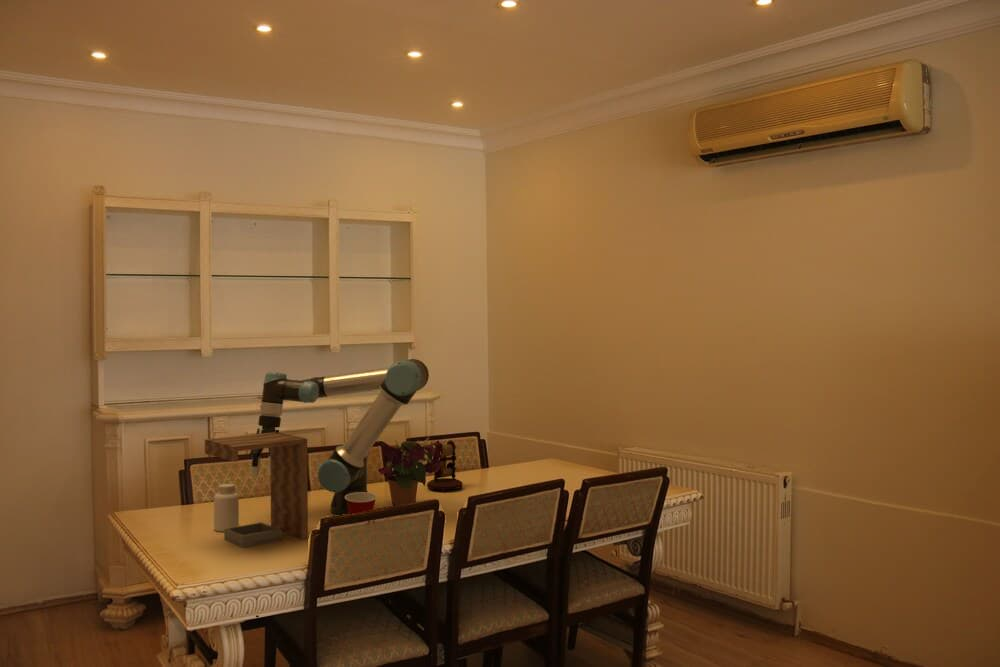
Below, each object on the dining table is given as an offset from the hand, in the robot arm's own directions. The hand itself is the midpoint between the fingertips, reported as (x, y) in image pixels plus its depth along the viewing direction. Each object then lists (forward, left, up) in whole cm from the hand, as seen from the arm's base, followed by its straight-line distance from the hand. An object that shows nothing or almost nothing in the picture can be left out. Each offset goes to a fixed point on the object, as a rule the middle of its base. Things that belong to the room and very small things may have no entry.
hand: (262, 475), depth 301 cm
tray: (-7, +26, -16) cm, 31 cm away
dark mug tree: (-54, -60, -16) cm, 82 cm away
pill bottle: (+7, +14, -16) cm, 22 cm away
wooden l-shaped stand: (-8, +25, -16) cm, 31 cm away
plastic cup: (-39, +11, -16) cm, 43 cm away
